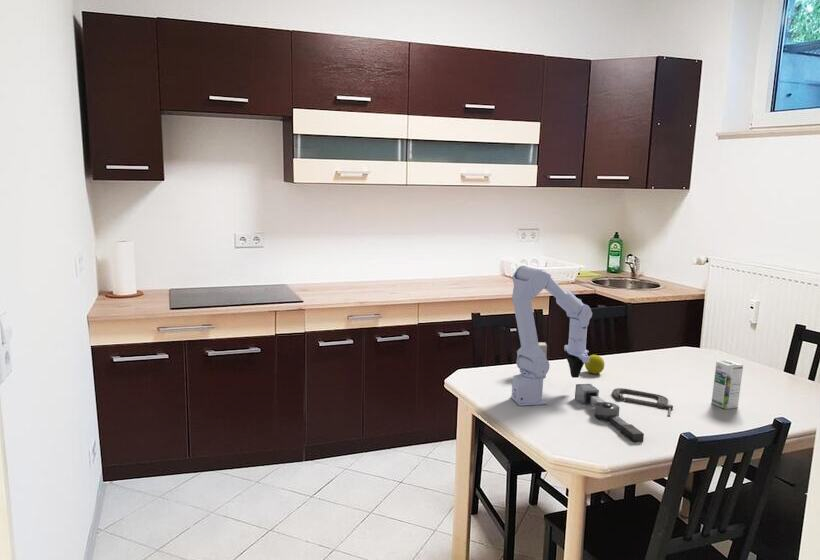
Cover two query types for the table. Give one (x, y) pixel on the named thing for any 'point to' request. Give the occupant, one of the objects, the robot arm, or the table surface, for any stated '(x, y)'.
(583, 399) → the brushed steel cube
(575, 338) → the robot arm
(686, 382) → the table surface
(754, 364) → the table surface
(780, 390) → the table surface
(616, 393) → the c clamp
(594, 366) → the tennis ball
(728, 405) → the syrup box
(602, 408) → the ratchet
